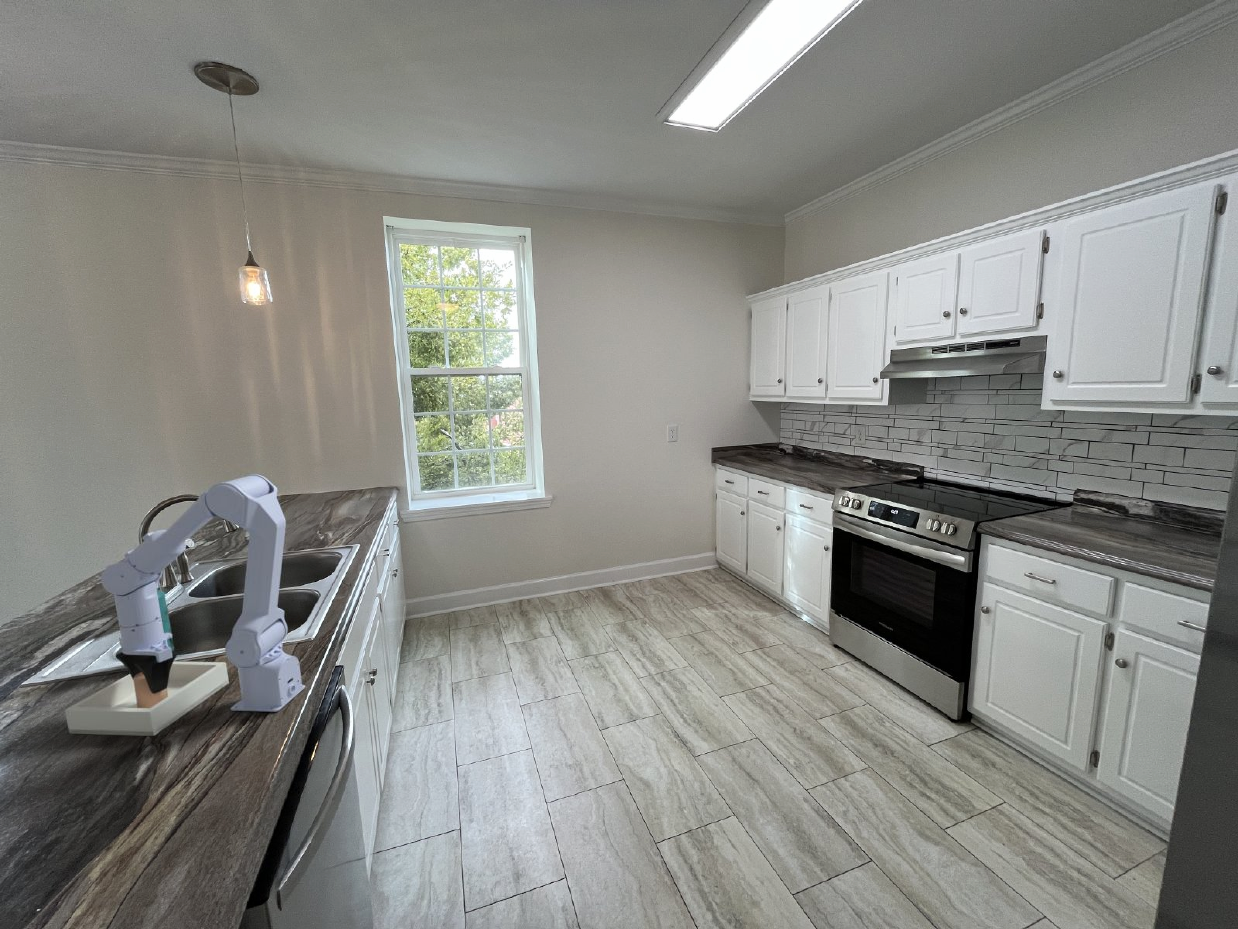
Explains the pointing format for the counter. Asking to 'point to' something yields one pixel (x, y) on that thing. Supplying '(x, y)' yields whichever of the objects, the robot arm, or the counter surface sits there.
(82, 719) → the bin
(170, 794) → the counter surface
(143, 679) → the peach cylinder
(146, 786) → the counter surface
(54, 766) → the counter surface
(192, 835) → the counter surface
